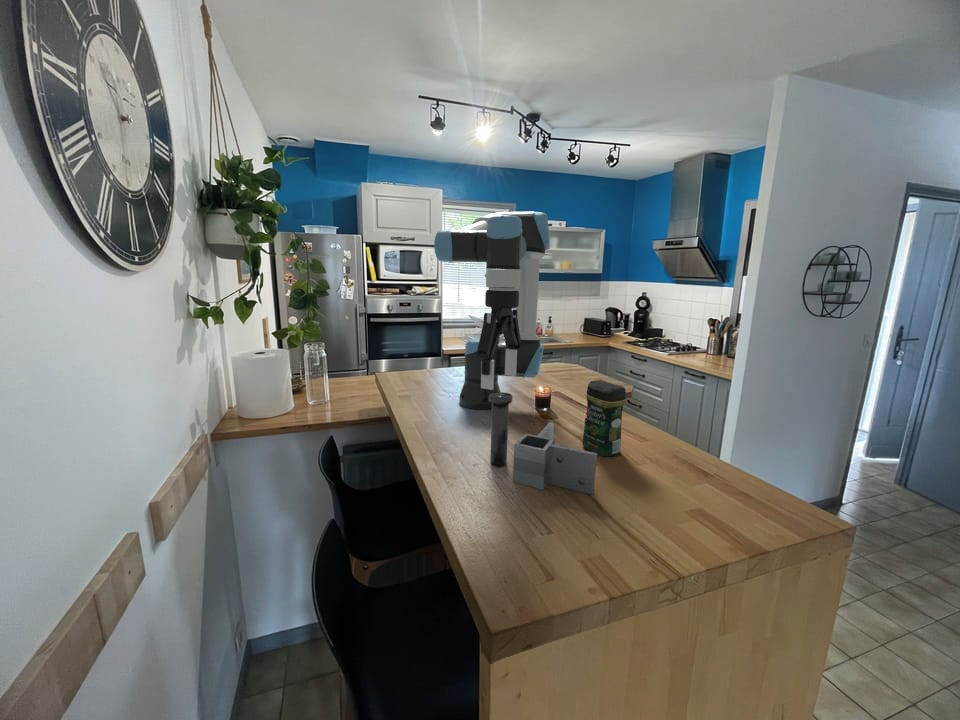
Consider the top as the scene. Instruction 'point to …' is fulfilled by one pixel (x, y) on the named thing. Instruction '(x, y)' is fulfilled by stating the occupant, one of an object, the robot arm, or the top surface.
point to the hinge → (552, 463)
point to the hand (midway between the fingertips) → (499, 381)
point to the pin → (499, 427)
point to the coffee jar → (604, 418)
